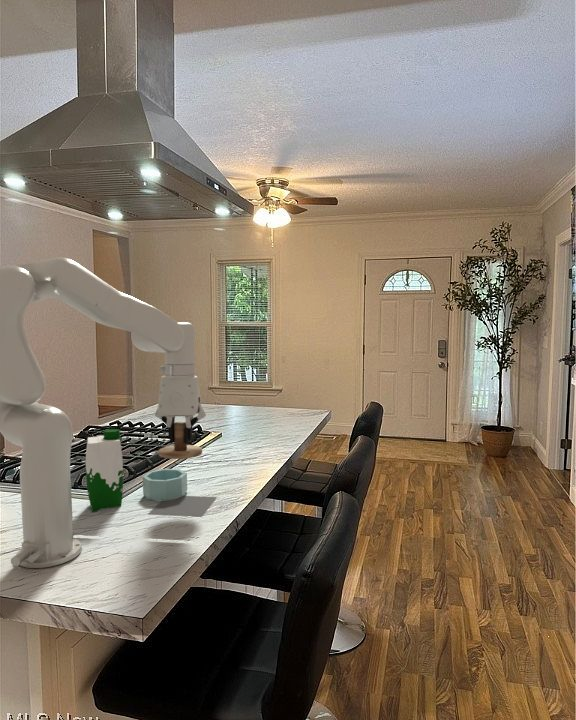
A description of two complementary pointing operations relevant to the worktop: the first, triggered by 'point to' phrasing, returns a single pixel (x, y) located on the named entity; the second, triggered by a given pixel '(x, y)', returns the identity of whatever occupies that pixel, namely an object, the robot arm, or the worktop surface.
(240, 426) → the worktop surface
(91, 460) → the soya milk
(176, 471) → the bowl
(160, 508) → the mat
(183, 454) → the lid
